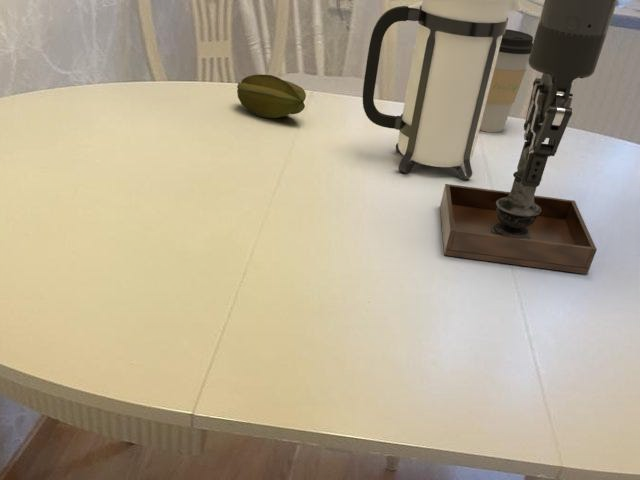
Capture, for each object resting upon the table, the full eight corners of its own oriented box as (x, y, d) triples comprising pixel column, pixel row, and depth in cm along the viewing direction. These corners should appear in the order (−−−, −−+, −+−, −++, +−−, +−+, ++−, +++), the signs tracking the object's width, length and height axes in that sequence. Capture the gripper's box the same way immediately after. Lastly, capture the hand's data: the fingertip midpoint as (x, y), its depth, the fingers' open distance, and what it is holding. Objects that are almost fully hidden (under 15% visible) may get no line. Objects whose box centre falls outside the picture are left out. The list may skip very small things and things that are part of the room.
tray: (566, 223, 106) (574, 200, 104) (587, 274, 94) (596, 249, 92) (439, 206, 107) (445, 183, 105) (444, 255, 95) (450, 230, 93)
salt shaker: (538, 231, 101) (568, 138, 93) (525, 246, 97) (556, 150, 89) (496, 219, 103) (522, 127, 95) (482, 233, 99) (508, 138, 91)
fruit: (298, 107, 137) (302, 67, 133) (304, 129, 128) (308, 87, 124) (235, 103, 136) (237, 62, 132) (237, 124, 127) (238, 81, 123)
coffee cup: (492, 138, 133) (517, 42, 123) (450, 123, 138) (471, 29, 128) (522, 130, 138) (548, 38, 128) (480, 116, 143) (502, 25, 133)
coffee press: (427, 142, 129) (471, -75, 109) (497, 174, 120) (560, -56, 100) (350, 155, 120) (382, -76, 100) (420, 191, 111) (471, -56, 91)
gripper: (621, 42, 79) (565, 204, 90) (595, 15, 89) (548, 163, 101) (549, 33, 79) (502, 196, 90) (532, 8, 90) (492, 156, 101)
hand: (527, 178), depth 96 cm, fingers open, 4 cm apart
